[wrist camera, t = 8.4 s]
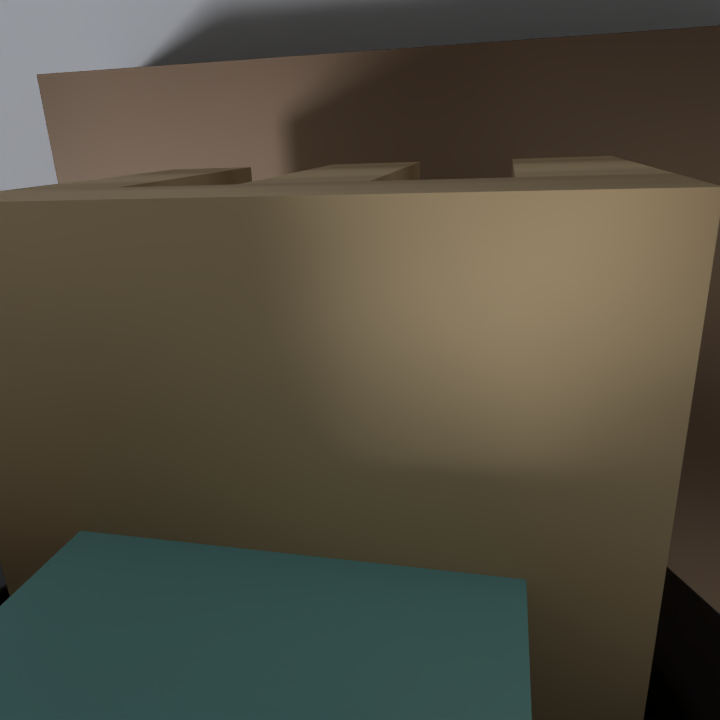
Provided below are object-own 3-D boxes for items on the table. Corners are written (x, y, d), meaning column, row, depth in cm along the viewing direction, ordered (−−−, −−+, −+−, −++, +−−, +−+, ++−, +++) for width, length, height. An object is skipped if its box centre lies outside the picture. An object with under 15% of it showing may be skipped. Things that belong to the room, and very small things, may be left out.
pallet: (557, 742, 11) (585, 1098, 7) (243, 692, 13) (113, 968, 8) (610, 156, 8) (723, 186, 4) (173, 169, 9) (-100, 203, 5)
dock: (674, 659, 15) (705, 757, 12) (201, 599, 17) (154, 671, 15) (779, 39, 10) (856, 15, 8) (121, 83, 13) (36, 74, 11)
